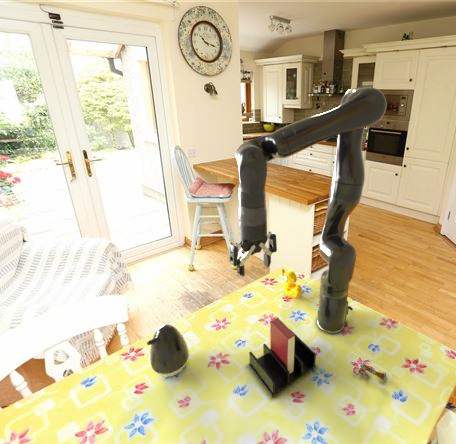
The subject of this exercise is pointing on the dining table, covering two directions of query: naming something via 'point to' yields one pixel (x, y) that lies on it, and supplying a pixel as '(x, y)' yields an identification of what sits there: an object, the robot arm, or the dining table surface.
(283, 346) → the book
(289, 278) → the duckling
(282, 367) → the book rack
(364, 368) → the brown two-tone jointed fixture
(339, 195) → the robot arm
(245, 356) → the dining table surface
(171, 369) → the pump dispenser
